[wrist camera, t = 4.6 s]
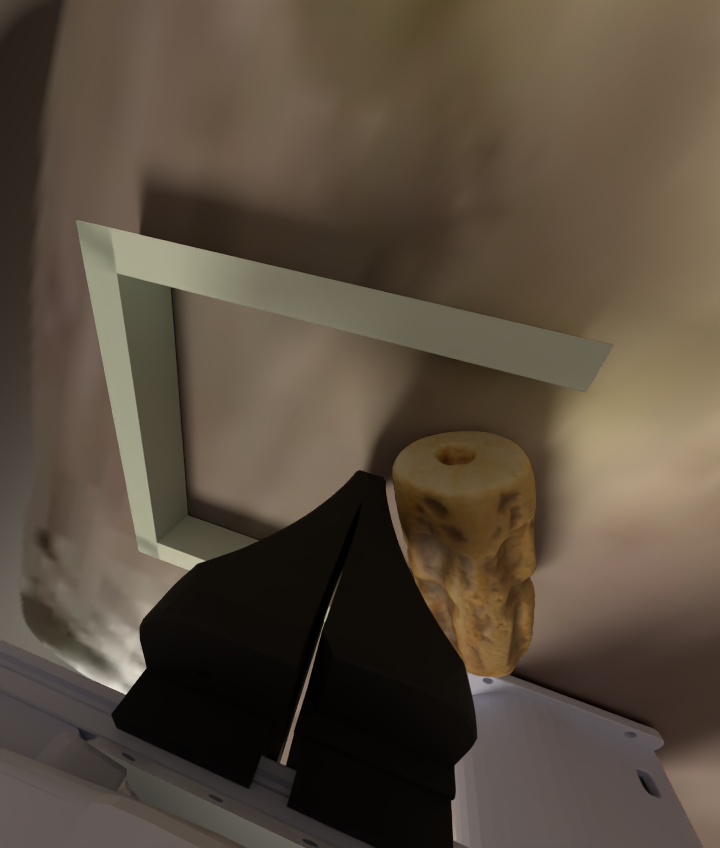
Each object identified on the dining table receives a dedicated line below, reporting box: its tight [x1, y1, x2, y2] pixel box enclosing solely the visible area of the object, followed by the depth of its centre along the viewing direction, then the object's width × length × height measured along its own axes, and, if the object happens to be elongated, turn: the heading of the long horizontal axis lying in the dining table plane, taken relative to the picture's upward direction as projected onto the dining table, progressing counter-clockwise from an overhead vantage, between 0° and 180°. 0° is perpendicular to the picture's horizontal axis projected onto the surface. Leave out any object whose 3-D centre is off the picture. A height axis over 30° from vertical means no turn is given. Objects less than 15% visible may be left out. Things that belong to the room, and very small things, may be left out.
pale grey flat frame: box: [76, 220, 613, 622], centre depth 11 cm, size 15×14×2 cm
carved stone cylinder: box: [392, 431, 536, 678], centre depth 10 cm, size 8×4×4 cm, turn 13°
